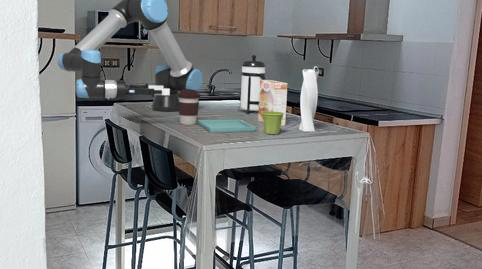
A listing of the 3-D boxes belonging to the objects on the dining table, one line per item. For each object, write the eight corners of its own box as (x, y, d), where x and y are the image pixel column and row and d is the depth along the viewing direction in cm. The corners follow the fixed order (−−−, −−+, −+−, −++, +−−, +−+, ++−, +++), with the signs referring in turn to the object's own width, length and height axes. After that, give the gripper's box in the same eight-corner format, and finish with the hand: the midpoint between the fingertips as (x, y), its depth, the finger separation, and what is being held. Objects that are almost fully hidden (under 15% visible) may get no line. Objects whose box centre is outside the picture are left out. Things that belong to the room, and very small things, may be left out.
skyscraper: (320, 132, 213) (325, 66, 208) (302, 133, 210) (307, 66, 205) (311, 129, 221) (316, 65, 215) (294, 129, 218) (299, 64, 213)
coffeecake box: (257, 120, 238) (259, 79, 234) (270, 120, 240) (273, 79, 237) (271, 126, 224) (274, 82, 220) (285, 125, 227) (288, 82, 223)
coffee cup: (181, 126, 214) (182, 91, 212) (173, 122, 223) (174, 88, 220) (203, 125, 219) (203, 91, 216) (194, 121, 228) (195, 88, 225)
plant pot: (266, 136, 201) (267, 114, 199) (256, 131, 209) (257, 111, 207) (287, 135, 204) (288, 114, 203) (276, 131, 213) (277, 110, 211)
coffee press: (232, 112, 261) (234, 54, 255) (243, 109, 275) (246, 54, 270) (263, 115, 255) (266, 56, 249) (273, 112, 269) (276, 55, 264)
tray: (197, 124, 221) (197, 120, 221) (240, 123, 228) (240, 119, 228) (210, 132, 203) (210, 128, 203) (256, 131, 210) (256, 127, 209)
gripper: (112, 95, 220) (160, 95, 227) (118, 101, 197) (172, 102, 204) (112, 78, 218) (161, 79, 226) (118, 82, 195) (172, 84, 202)
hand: (166, 90), depth 215 cm, fingers open, 13 cm apart
